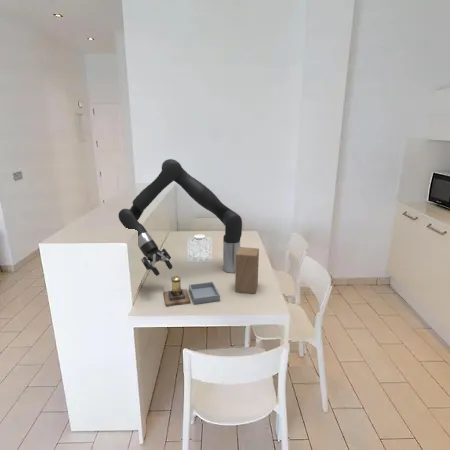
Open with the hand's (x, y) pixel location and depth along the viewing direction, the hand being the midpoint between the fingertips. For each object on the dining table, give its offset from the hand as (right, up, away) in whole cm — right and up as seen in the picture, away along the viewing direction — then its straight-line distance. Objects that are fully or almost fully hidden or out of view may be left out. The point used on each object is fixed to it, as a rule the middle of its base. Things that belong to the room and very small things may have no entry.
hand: (164, 271), depth 158 cm
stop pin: (+6, -11, -1) cm, 13 cm away
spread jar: (+12, +4, +55) cm, 57 cm away
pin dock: (+6, -13, 0) cm, 14 cm away
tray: (+18, -12, +3) cm, 22 cm away
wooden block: (+39, -10, +10) cm, 41 cm away
